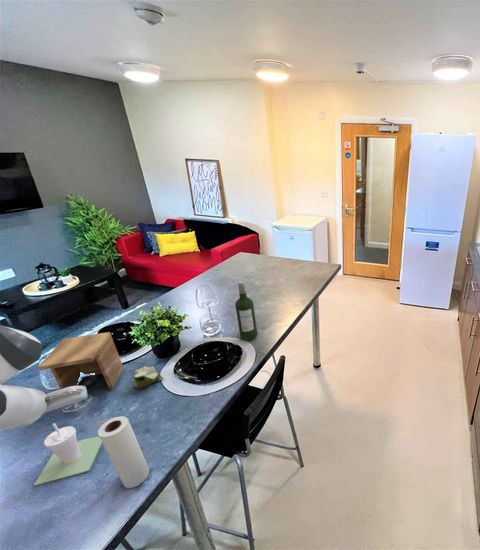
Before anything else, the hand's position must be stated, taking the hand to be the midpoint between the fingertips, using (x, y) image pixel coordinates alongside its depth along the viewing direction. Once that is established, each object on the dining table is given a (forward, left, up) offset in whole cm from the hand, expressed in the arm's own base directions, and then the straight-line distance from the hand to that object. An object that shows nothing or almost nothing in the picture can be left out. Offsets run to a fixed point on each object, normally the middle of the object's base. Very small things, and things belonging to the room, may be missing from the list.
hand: (44, 409), depth 79 cm
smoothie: (+1, -2, -19) cm, 19 cm away
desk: (-5, +30, -19) cm, 36 cm away
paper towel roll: (+20, -14, -19) cm, 31 cm away
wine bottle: (+51, +46, -19) cm, 72 cm away
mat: (+1, -2, -19) cm, 19 cm away
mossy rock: (+13, +26, -19) cm, 35 cm away
